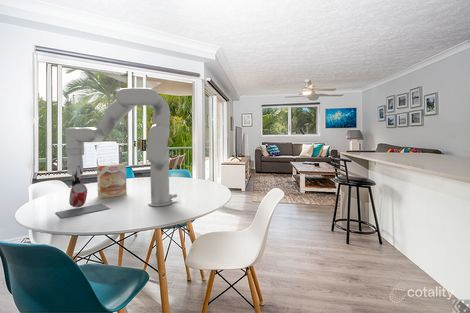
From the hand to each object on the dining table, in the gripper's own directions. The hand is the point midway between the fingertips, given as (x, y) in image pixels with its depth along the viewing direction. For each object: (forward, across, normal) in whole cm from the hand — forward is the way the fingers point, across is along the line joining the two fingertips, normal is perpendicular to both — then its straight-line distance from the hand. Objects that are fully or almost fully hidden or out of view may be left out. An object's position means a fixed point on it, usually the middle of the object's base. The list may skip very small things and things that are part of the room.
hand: (76, 188), depth 118 cm
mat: (+10, +8, +1) cm, 13 cm away
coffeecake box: (+10, -14, +22) cm, 29 cm away
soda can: (+8, -2, 0) cm, 8 cm away
